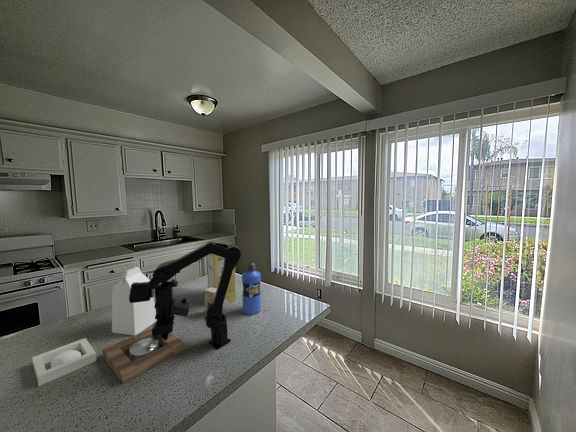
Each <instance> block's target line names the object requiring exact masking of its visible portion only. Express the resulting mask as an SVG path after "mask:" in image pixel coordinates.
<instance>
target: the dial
mask: <svg viewBox="0 0 576 432" xmlns="http://www.w3.org/2000/svg"><path fill="white" fill-rule="evenodd" d="M169 334H170V333H168V335H169ZM160 338H162V336H161V335H156V336H152V338H146V339H142V340H140V341H138V342H136V343H134V344H133V345H132V346H131V347H130V351H129V359H130V360H131V361H132V362H133V361H135V360H137V359H139V358H141V357H143V356H145V355H147V354H150V353H152V352H154V351H156V350H158V349H160V346H159V345H160V344H159V343H158V339H160Z"/></svg>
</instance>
